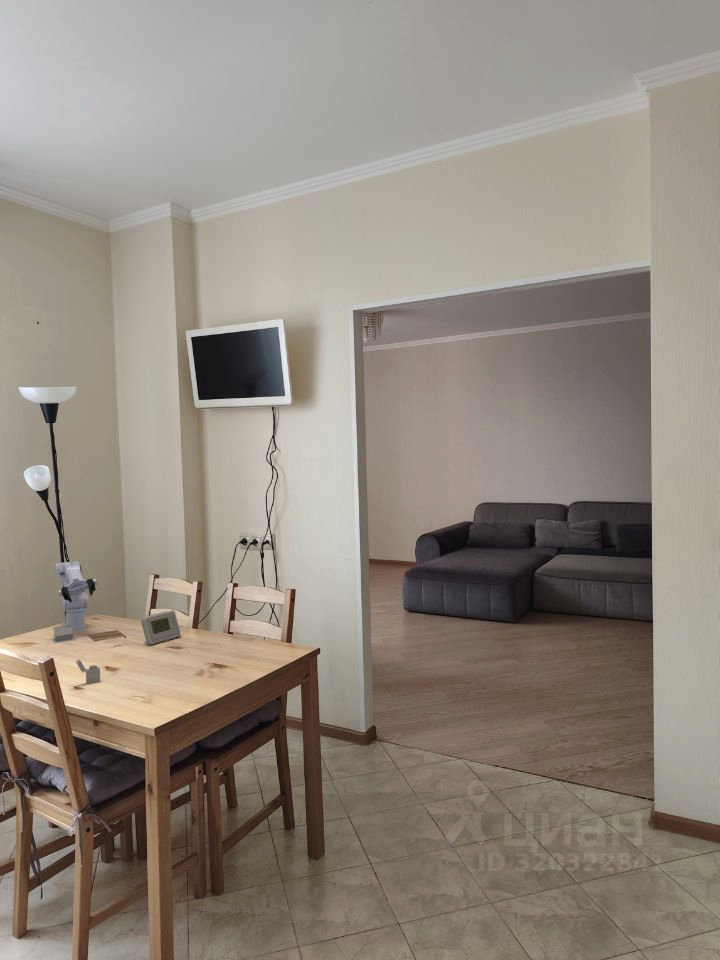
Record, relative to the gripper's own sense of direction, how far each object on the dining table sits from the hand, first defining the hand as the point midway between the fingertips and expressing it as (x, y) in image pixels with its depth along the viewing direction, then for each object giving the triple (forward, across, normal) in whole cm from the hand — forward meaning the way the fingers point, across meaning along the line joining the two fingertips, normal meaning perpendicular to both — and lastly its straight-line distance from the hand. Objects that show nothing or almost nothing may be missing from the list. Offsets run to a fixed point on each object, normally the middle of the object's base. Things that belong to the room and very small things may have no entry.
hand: (80, 596), depth 269 cm
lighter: (+55, -5, +2) cm, 55 cm away
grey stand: (+1, -11, +17) cm, 20 cm away
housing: (0, -10, +15) cm, 19 cm away
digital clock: (+18, +23, +21) cm, 36 cm away
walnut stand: (+4, +4, +20) cm, 21 cm away
